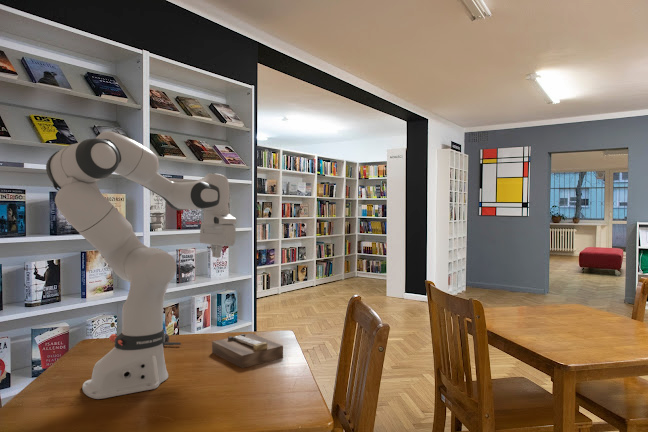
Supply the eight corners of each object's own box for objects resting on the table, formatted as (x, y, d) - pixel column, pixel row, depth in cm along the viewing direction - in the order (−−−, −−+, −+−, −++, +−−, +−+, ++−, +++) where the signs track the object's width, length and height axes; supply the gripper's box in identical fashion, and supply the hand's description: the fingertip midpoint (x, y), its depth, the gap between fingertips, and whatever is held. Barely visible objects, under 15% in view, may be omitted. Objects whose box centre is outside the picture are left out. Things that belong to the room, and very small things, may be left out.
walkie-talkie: (125, 347, 159) (179, 348, 158) (125, 335, 159) (179, 336, 158) (136, 340, 167) (187, 341, 167) (136, 329, 167) (188, 329, 167)
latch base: (242, 368, 137) (242, 350, 137) (212, 352, 152) (212, 336, 152) (282, 357, 148) (283, 340, 148) (251, 343, 163) (251, 328, 163)
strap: (254, 346, 144) (254, 344, 144) (232, 339, 155) (232, 336, 155) (262, 345, 146) (262, 342, 146) (240, 337, 157) (239, 335, 157)
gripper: (195, 218, 162) (195, 255, 162) (222, 219, 147) (222, 260, 147) (211, 218, 166) (210, 254, 166) (238, 219, 151) (238, 259, 151)
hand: (216, 257), depth 156 cm, fingers closed
